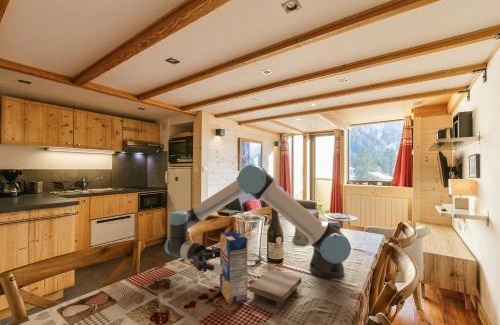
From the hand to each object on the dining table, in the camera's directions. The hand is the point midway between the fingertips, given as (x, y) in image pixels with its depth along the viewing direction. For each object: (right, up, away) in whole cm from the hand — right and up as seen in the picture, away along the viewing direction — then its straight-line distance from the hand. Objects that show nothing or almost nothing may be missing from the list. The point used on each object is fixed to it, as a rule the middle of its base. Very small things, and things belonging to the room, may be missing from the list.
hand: (233, 263), depth 90 cm
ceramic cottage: (+41, -14, +66) cm, 79 cm away
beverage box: (0, -12, 0) cm, 12 cm away
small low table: (+16, -12, 0) cm, 20 cm away
